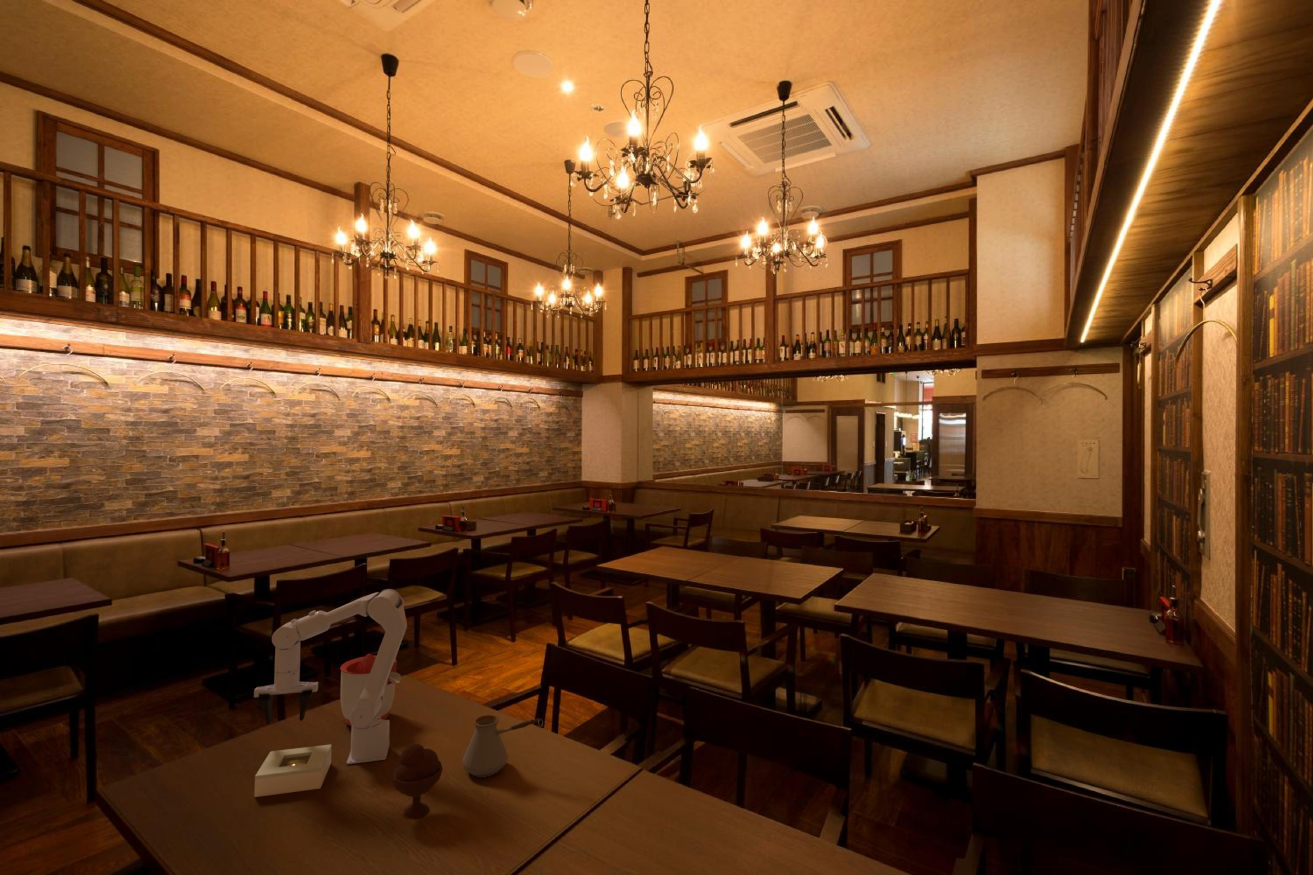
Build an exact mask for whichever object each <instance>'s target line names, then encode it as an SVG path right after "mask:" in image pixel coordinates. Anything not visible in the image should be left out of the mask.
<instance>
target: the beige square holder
mask: <svg viewBox="0 0 1313 875" xmlns="http://www.w3.org/2000/svg"><path fill="white" fill-rule="evenodd" d="M298 759H302V760H305V761H306V764H300V765H292V766H285V765H286V764H287V763H288V762H290V761H293V760H298ZM331 764H332V744H325V745H324V744H323V745H317V746H316V745H315V746H306V747H298V748H289V749H280V750H272V751H271V750H270V752H269V753H268V755H267V756H266V758H265V760H264V761H263V762H262V764H261V766H260V768H259V769H258V771H257V772H256V774H255V775H254V795H253V796H254V798H258V797H265V796H267V797H268V796H273V795H280V794H288V793H294V792H295V793H296V792H303V791H311V790H312V791H313V790H319V789H321V788H322V785H323V783H324V781H325V778H326V777H327V775H328V771H329V769H330V766H331Z"/></svg>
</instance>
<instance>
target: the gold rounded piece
mask: <svg viewBox="0 0 1313 875" xmlns="http://www.w3.org/2000/svg"><path fill="white" fill-rule="evenodd" d="M300 764H306V761H305V760H302V759H298V760H293V761H290V762H288V763H287V764H286V765H285V766H292V765H300Z"/></svg>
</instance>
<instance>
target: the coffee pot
mask: <svg viewBox="0 0 1313 875" xmlns="http://www.w3.org/2000/svg"><path fill="white" fill-rule="evenodd" d="M499 721H500V719H499V716H497V715H494V714H483V715H479V716H478V717H476V718H475V719H474V720H473V725H474V726H475V731H474V732H473V735H472V737H471V739H470V742H469V744H468V746H467V749H466V751H465V753H464V756H463V758H462V765H463V767H464V769H465V770H466V772H468V773H469V774H470V775H471V776H473V777H475V776H476V777H475V778H487V776H488V777H492V776H494V775H495V773H496V774H497V773H499V771H500V770H502V769H503V768H504V766H505V765H506V763H507V762H508V759H509V754H508V752H507V749H506V747H505V745H504V742H503V740H502V738H501V735H502V734H504V733H507V732H510V731H514V730H518V729H522V728H525V727H527V726H530V725H534V724H535V723H537V725H538V727H539V728H541V727H543V725H544V721H543V719H542V718H540V717H538V718H535V719H533V718H532V719H530V720H528V721H523V722H520V723H516V724H514V725H511V726H510V727H506V728H503V729H499V730H498V728H497V724H498V723H499ZM540 721H541V725H540ZM493 774H494V775H493ZM491 775H492V776H491Z"/></svg>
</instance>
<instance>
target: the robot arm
mask: <svg viewBox="0 0 1313 875" xmlns="http://www.w3.org/2000/svg"><path fill="white" fill-rule="evenodd" d="M404 603H405V600H404V599H403V598H402V596H401V595H400V593H399V592H398V591H397V590H395V589H391V588H387V589H383V590H382V591H381V592H378V591H377V592H374V593H371V594H368V595H364V596H362V597H360V598H357V599H355V600H353V601H351V602H349V603H346V604H344V605H342V606H340V607H337V608H334V609H333V610H330V611H328V612H327V611H324V610H318V611H316V610H312V611H310V612H309V613H308V615H306V616H303V617H300V618H298V619H297V618H293V619H292V620H290V621H289V622H287V623H285V624H283V625H282V626H281V627H279V628H277V629H276V630H275V631H274V632H273V634H272V636H271V643H272V644H273V646H274V647H275V649H274V650H275V651H274V652H275V654H274V677H273V678H274V682H273V684H269V685H264V686H263V685H262V686H257V687H256V688H254V691H253V698H258V699H257V704H258V706H259V707H260V708H261V710H262V713H263V715H264V717H265V721H266V722H265V723H266V725H270V724H271V722H272V721H273V703H274V702H273V700H274V696H275V695H285V694H297V693H301V694H300V695H299V704H300V705H299V707H300V708H299V709H300V710H299V722H301V721H304V719H305V717H306V716H305V715H306V710H307V707H308V706H309V702H310V700H311V698H312V696H313V694H314V693H316V692H317V691H319V682H318V681H316V682H315V681H311V682H310V681H300V672H301V671H300V669H301V641H305V640H308V639H310V638H313V637H315V636H318V635H320V634H322V633H324V632H325V633H326V631H328V630H329V629H330V627H331V625H332V624H335V623H337V622H340V621H342V620H345V619H348V618H350V617H353V616H357V615H360V616H362V617H368V616H369V617H370V619H372V620H374V621H375V622H376V623H378V624H379V625H380V626H381V627H382V629H383V630H384V636H383V638H382V641H381V644H380V646H379V648H378V651H377V656H376V659H375V662H374V664H373V667H372V670H371V672H370V675H369V678H368V680H367V683H366V686H365V688H364V690H363V692H362V694H361V696H360V698H359V700H358V703H357V704H356V706H355V707H354V708H353V709H352V710H351V711H350V714H349V721H350V723H351V724H352V726H351V729H350V730H351V733H350V752H349V755H348V757H347V760H346V765H352V764H360V763H361V764H362V763H370V762H378V761H384V760H386V759H387V756H388V752H389V748H390V720H389V719H385V720H383V719H381V716H380V714H379V711H380V710H381V708H382V707H383V703H384V700H383V694H384V691H385V689H384V687H385V685H386V682H387V679H388V676H389V674H390V671H391V668H392V666H393V663H394V660H395V659H396V658H397V655H398V652H399V649H400V646H401V644H402V641H403V638H404V636H405V633H406V631H407V627H408V622H407V617H406V612H405V608H404V607H405V604H404Z"/></svg>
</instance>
